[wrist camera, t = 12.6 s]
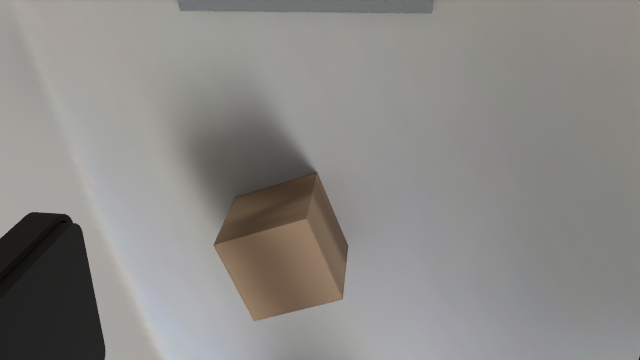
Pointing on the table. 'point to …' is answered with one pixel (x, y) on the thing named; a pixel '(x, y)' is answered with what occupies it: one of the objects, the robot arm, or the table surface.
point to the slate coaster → (310, 5)
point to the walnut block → (284, 248)
